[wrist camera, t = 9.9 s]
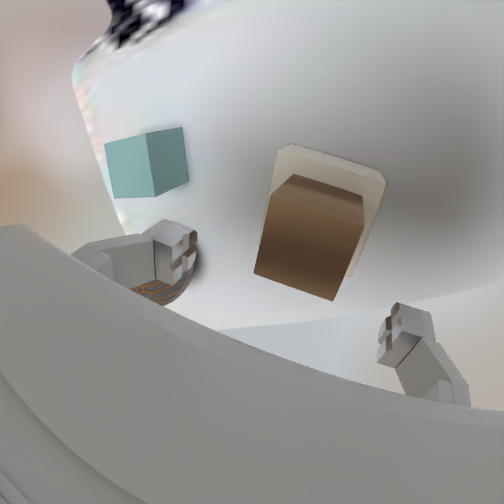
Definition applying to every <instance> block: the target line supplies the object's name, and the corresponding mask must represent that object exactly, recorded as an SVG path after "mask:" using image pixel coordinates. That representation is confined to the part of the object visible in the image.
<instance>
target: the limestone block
mask: <svg viewBox="0 0 504 504" xmlns="http://www.w3.org/2000/svg"><path fill="white" fill-rule="evenodd" d="M292 174H296V175H300V176H303V177H306V178H310V179H313V180H316V181H319V182H322V183H326V184H329V185H332V186H335V187H338V188H341V189H344V190H347V191H350V192H353V193H356V194H358V195H361V196H362V198H363V210H364V225H365V226H364V229H363V231H362V234H361V237H360V239H359V242H358V244H357V247H356V249H355V252H354V254H353V257H352V259H351V262H350V264H349V266H348V269H347V271H346V273H345V275H346V276H349V277H351V275H352V273H353V270H354V268H355V266H356V263H357V261H358V259H359V256H360V254H361V251H362V249H363V247H364V244H365V242H366V239H367V237H368V234H369V231H370V229H371V226H372V224H373V221H374V218H375V216H376V213H377V210H378V207H379V205H380V202H381V199H382V196H383V193H384V190H385V187H386V182H385V180H384V177H383V175H382V173H381V172H380V171H377V170H375V169H372V168H369V167H366V166H363V165H361V164H358V163H355V162H352V161H349V160H346V159H342V158H339V157H336V156H333V155H330V154H326V153H323V152H320V151H316V150H313V149H309V148H305V147H302V146H298V145H294V144H290V145H287V146H285V147H283V148H280V149H278V150H277V155H276V160H275V165H274V170H273V174H272V179H271V184H270V189H269V194H268V198H267V203H266V208H265V213H264V218H263V222H262V227H261V232H260V237H259V241H258V246H260V241H261V237H262V232H263V227H264V223H265V218H266V213H267V209H268V204H269V199H270V195H271V194H272V193H273V192H274V191H275V190H276V189H277V188H279V187H280V186H281V185H282V184H283V183H284V182H285V181H286V180H287V179H288V178H289V177H290V176H291V175H292Z"/></svg>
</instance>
